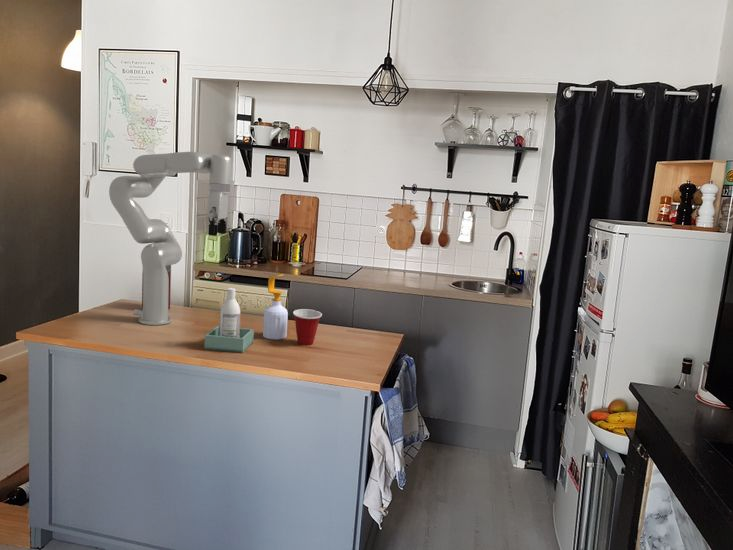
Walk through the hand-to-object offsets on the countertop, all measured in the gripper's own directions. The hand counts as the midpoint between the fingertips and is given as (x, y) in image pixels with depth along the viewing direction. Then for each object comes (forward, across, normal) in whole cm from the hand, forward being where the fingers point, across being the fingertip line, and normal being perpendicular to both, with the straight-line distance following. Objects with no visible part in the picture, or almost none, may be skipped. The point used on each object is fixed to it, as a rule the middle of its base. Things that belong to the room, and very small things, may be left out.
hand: (217, 234), depth 219 cm
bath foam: (+37, +16, +12) cm, 42 cm away
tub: (+38, +16, +12) cm, 43 cm away
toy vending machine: (+39, -26, -34) cm, 58 cm away
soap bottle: (+38, -1, +24) cm, 45 cm away
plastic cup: (+38, +4, +37) cm, 53 cm away
